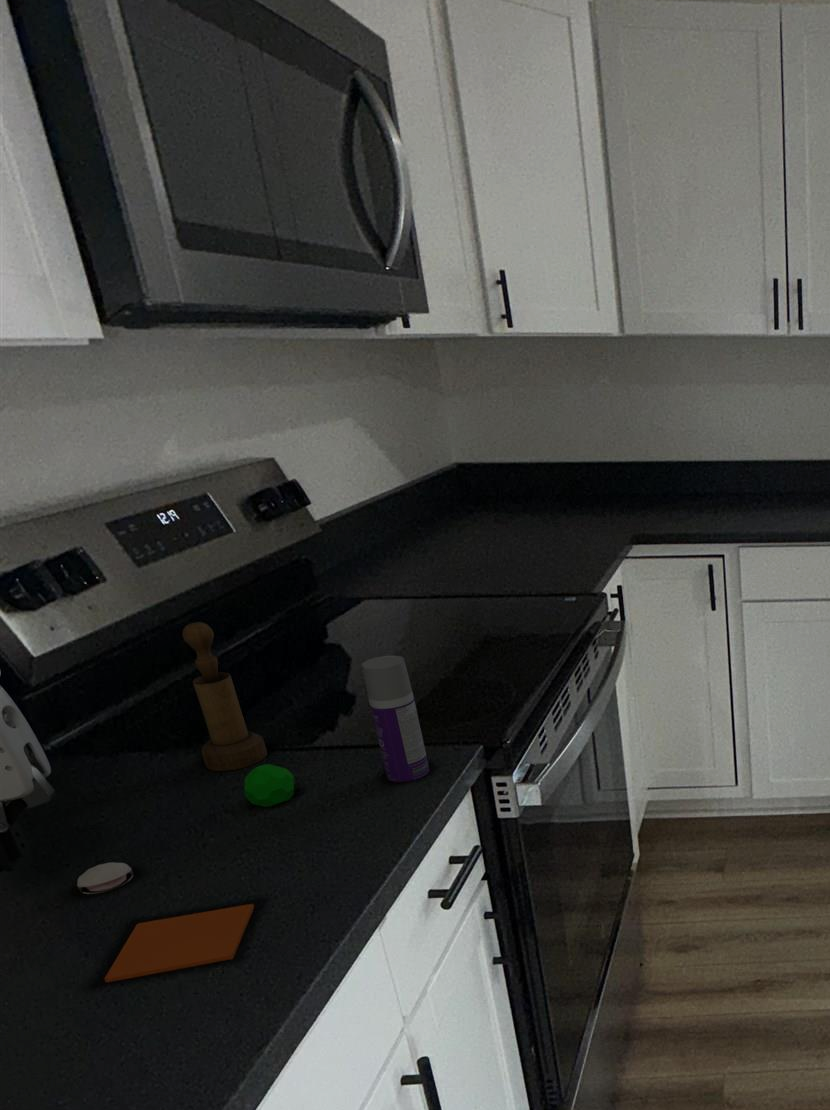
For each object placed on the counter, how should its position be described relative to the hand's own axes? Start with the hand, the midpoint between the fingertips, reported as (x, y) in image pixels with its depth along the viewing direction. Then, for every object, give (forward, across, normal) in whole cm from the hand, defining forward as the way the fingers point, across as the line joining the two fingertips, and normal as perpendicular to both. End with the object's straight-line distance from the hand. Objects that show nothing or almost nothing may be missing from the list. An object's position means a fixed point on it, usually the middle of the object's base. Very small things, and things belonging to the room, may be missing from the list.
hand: (10, 864), depth 87 cm
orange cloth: (+4, -16, +14) cm, 22 cm away
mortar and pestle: (+4, -12, -29) cm, 31 cm away
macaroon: (+4, -6, 0) cm, 8 cm away
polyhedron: (+4, -18, -14) cm, 23 cm away
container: (+5, -32, -16) cm, 36 cm away
